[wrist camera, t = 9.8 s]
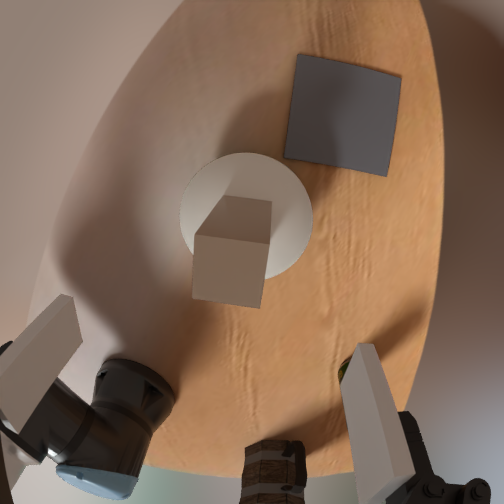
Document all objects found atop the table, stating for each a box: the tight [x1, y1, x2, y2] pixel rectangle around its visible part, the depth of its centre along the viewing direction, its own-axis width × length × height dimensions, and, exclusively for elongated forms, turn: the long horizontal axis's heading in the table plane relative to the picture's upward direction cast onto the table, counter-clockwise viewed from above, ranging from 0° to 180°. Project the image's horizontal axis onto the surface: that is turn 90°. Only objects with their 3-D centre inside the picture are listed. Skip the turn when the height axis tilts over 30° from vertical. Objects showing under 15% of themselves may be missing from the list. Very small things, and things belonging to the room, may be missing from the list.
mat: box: [284, 54, 401, 177], centre depth 30 cm, size 12×12×1 cm
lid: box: [179, 152, 313, 309], centre depth 25 cm, size 13×13×12 cm
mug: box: [239, 440, 307, 504], centre depth 47 cm, size 20×14×15 cm
